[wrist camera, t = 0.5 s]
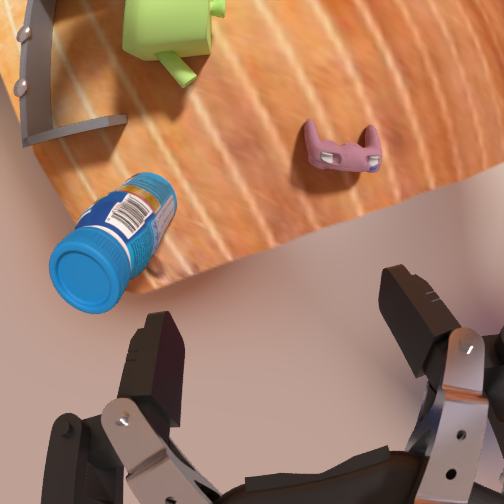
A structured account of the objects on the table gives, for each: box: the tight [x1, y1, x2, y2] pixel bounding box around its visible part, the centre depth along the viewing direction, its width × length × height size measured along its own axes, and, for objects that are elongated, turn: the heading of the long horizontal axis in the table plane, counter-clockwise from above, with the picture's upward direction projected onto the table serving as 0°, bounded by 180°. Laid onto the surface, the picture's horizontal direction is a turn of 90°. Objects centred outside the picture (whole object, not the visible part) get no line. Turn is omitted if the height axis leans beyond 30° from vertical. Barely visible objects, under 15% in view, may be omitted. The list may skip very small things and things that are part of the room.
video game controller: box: [304, 119, 382, 173], centre depth 32 cm, size 10×5×7 cm, turn 90°
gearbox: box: [122, 0, 226, 88], centre depth 23 cm, size 18×10×10 cm, turn 179°
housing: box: [14, 0, 127, 148], centre depth 23 cm, size 24×14×7 cm, turn 1°
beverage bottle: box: [49, 172, 177, 314], centre depth 28 cm, size 8×8×20 cm
